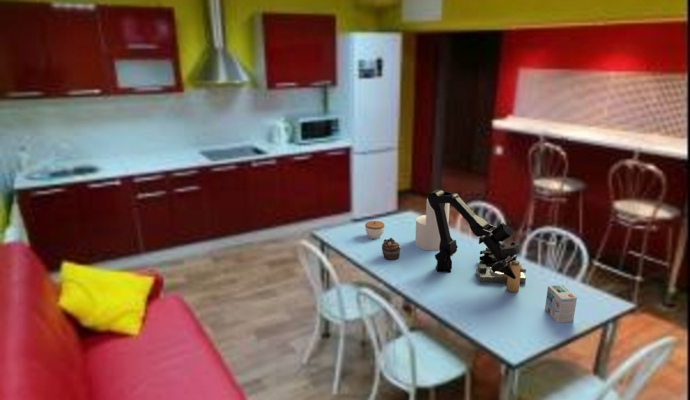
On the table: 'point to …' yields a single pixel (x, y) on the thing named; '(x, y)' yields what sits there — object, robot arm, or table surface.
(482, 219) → the robot arm
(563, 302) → the light bulb box
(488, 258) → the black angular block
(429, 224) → the cylinder
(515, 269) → the tan bottle
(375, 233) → the lidded jar
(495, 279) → the motor base
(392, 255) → the cupcake
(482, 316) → the table surface
